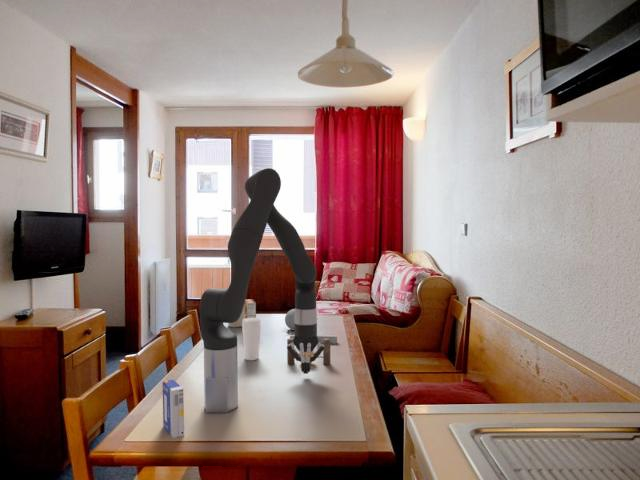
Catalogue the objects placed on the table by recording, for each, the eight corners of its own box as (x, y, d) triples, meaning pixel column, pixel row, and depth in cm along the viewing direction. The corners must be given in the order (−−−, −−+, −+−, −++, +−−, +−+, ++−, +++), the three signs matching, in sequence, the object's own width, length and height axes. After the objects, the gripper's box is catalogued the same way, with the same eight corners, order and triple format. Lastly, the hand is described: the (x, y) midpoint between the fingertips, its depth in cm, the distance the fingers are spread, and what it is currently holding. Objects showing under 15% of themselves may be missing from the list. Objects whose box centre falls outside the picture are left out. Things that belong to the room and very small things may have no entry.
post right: (330, 365, 162) (330, 340, 161) (323, 365, 162) (323, 340, 161) (330, 362, 164) (330, 338, 164) (323, 362, 164) (323, 338, 164)
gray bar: (337, 343, 190) (337, 336, 190) (289, 343, 191) (289, 336, 191) (337, 342, 192) (337, 335, 192) (290, 341, 193) (290, 334, 193)
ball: (314, 366, 164) (315, 361, 159) (298, 366, 164) (298, 361, 159) (315, 350, 167) (315, 345, 162) (298, 349, 167) (298, 345, 162)
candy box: (244, 331, 210) (244, 299, 210) (253, 331, 212) (253, 298, 211) (247, 336, 202) (246, 302, 201) (256, 335, 203) (256, 302, 202)
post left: (294, 364, 162) (294, 340, 162) (287, 364, 162) (286, 340, 162) (294, 362, 165) (294, 338, 164) (287, 362, 165) (287, 338, 165)
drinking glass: (257, 362, 165) (256, 321, 165) (239, 361, 167) (239, 321, 166) (263, 356, 172) (262, 317, 171) (246, 355, 173) (246, 317, 173)
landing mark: (328, 357, 171) (328, 356, 171) (292, 356, 172) (292, 356, 172) (329, 346, 185) (329, 346, 185) (295, 346, 186) (295, 346, 186)
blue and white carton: (163, 426, 114) (162, 380, 114) (174, 423, 116) (173, 378, 115) (173, 438, 108) (172, 389, 107) (184, 435, 109) (183, 387, 109)
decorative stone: (282, 328, 217) (282, 307, 216) (302, 326, 220) (302, 306, 220) (288, 333, 207) (288, 311, 207) (308, 331, 211) (308, 310, 210)
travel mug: (245, 323, 226) (245, 288, 225) (243, 327, 218) (243, 290, 217) (229, 323, 226) (229, 288, 225) (227, 327, 218) (226, 291, 217)
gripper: (284, 323, 145) (284, 376, 146) (325, 324, 144) (325, 377, 145) (287, 318, 153) (287, 368, 153) (326, 319, 152) (326, 369, 153)
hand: (305, 372), depth 149 cm, fingers closed
